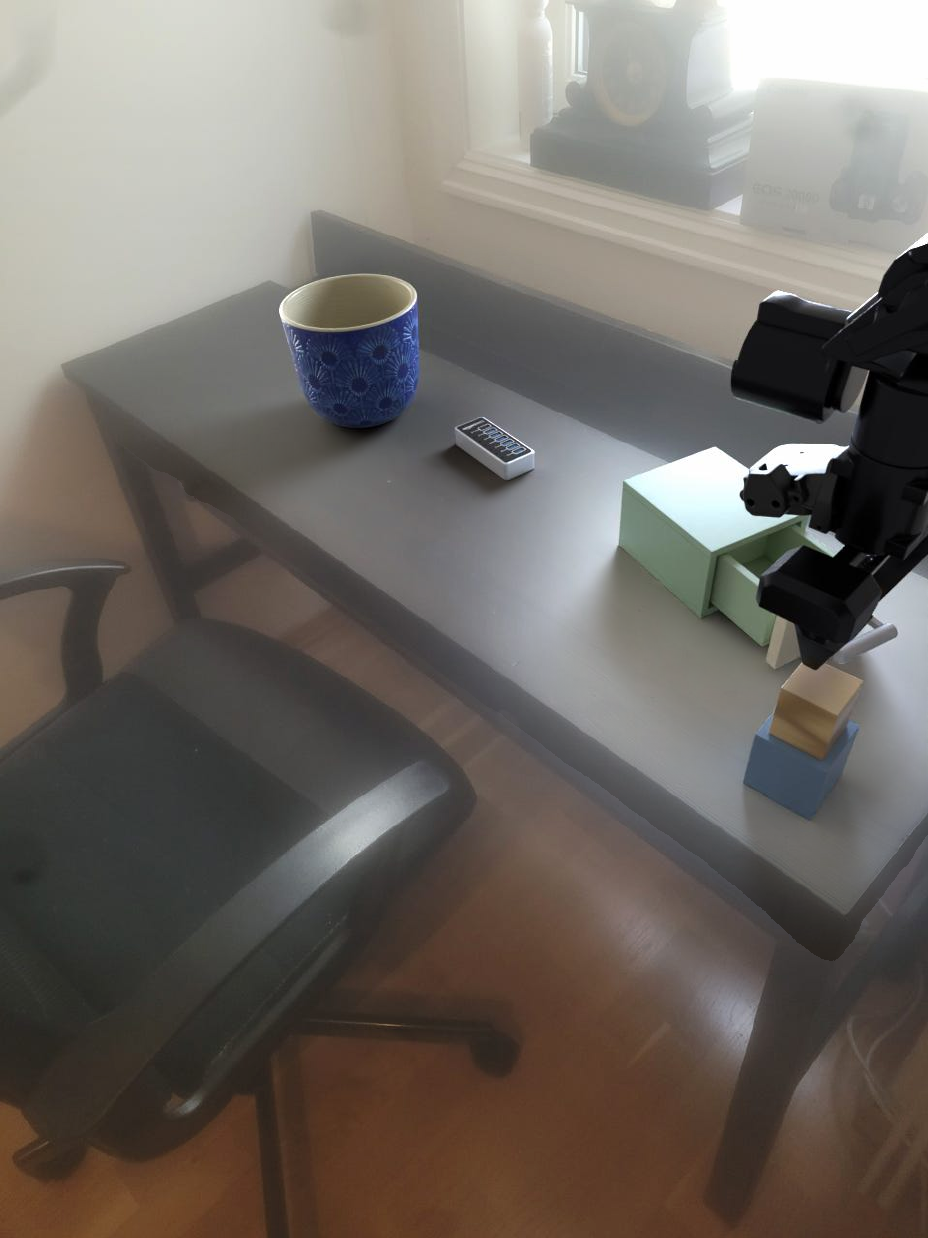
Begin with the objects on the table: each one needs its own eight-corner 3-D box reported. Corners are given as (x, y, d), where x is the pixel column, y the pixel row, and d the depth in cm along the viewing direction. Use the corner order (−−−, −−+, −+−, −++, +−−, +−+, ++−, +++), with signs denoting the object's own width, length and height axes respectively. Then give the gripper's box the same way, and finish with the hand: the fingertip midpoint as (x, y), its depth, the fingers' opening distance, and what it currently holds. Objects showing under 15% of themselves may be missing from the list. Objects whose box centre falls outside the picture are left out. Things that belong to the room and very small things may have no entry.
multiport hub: (506, 481, 102) (505, 464, 100) (454, 443, 109) (453, 427, 107) (535, 467, 104) (535, 451, 102) (483, 431, 111) (482, 415, 109)
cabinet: (793, 577, 86) (810, 511, 81) (700, 618, 83) (711, 552, 77) (705, 509, 95) (715, 446, 90) (618, 544, 92) (622, 480, 86)
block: (847, 726, 65) (864, 680, 61) (821, 761, 62) (838, 716, 59) (794, 700, 67) (807, 654, 63) (768, 733, 65) (780, 687, 61)
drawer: (903, 658, 76) (924, 605, 72) (813, 703, 73) (830, 651, 69) (767, 554, 88) (779, 503, 83) (685, 590, 85) (692, 539, 80)
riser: (841, 774, 69) (860, 725, 65) (809, 820, 66) (826, 772, 62) (776, 739, 72) (790, 690, 68) (742, 782, 69) (754, 734, 65)
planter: (361, 459, 108) (341, 343, 97) (277, 417, 117) (251, 307, 106) (454, 404, 116) (445, 292, 106) (369, 369, 125) (353, 263, 115)
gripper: (848, 349, 61) (803, 528, 71) (698, 463, 52) (672, 649, 62) (1016, 397, 55) (940, 585, 65) (880, 536, 45) (817, 728, 56)
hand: (842, 631), depth 62 cm, fingers open, 9 cm apart
